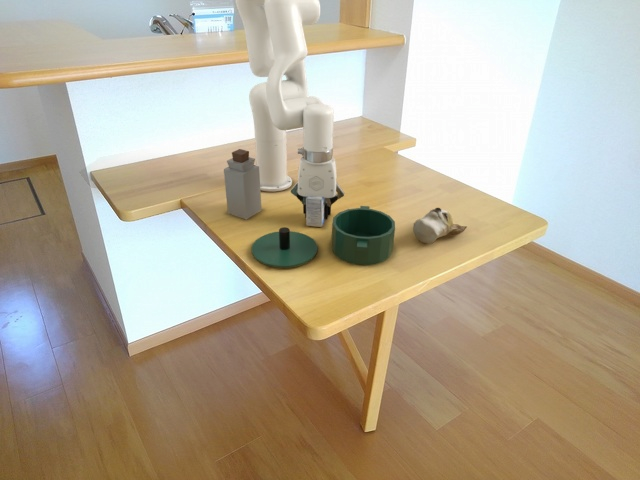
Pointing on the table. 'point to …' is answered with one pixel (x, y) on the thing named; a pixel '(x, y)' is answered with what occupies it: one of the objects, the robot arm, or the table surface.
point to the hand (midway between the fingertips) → (317, 215)
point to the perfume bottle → (242, 185)
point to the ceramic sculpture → (436, 226)
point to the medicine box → (315, 211)
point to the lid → (284, 249)
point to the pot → (363, 236)
